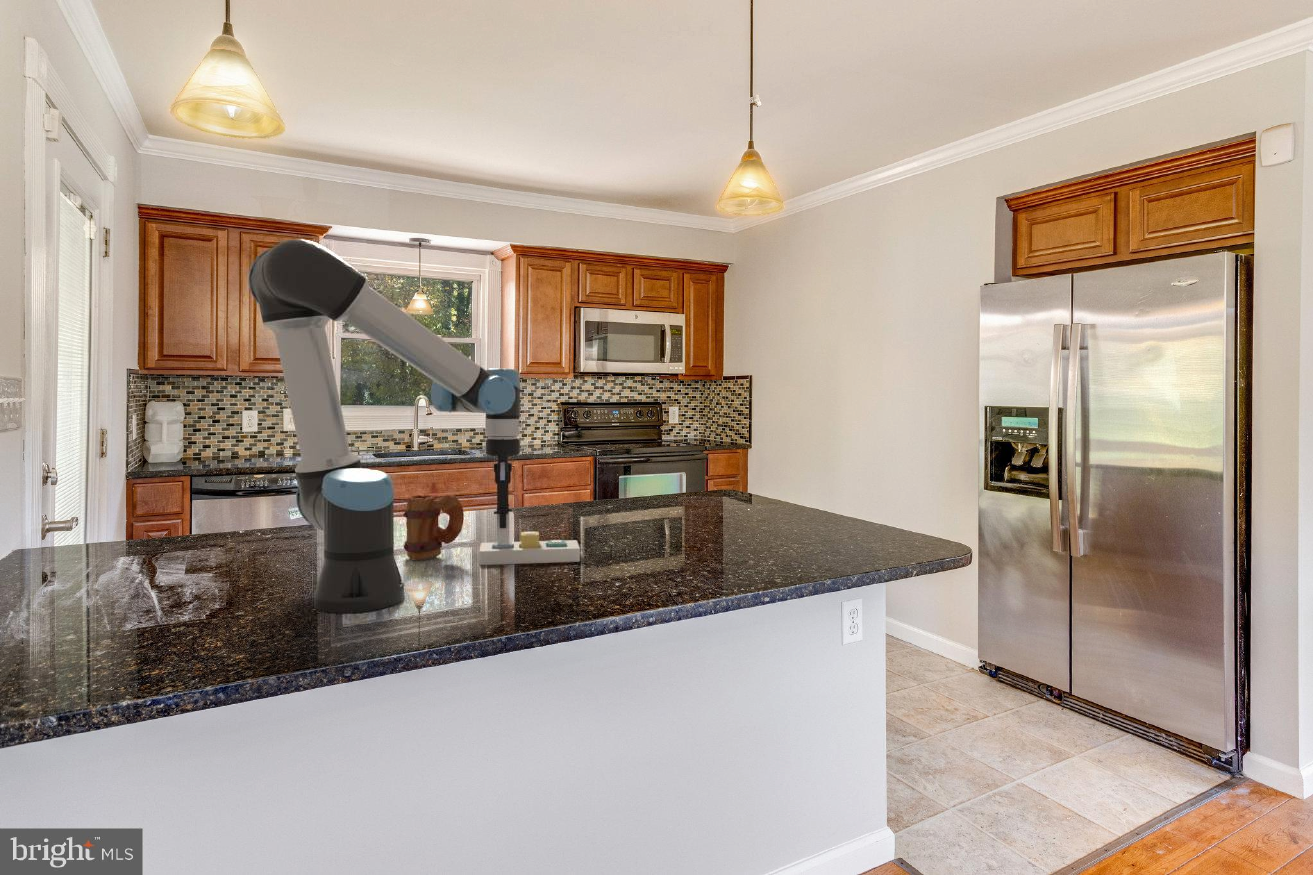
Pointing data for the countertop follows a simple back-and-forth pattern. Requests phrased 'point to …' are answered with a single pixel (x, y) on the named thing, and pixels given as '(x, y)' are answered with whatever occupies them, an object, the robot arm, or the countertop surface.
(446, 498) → the mug
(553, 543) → the key
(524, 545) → the key
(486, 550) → the keypad
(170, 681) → the countertop surface
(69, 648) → the countertop surface
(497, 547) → the key
